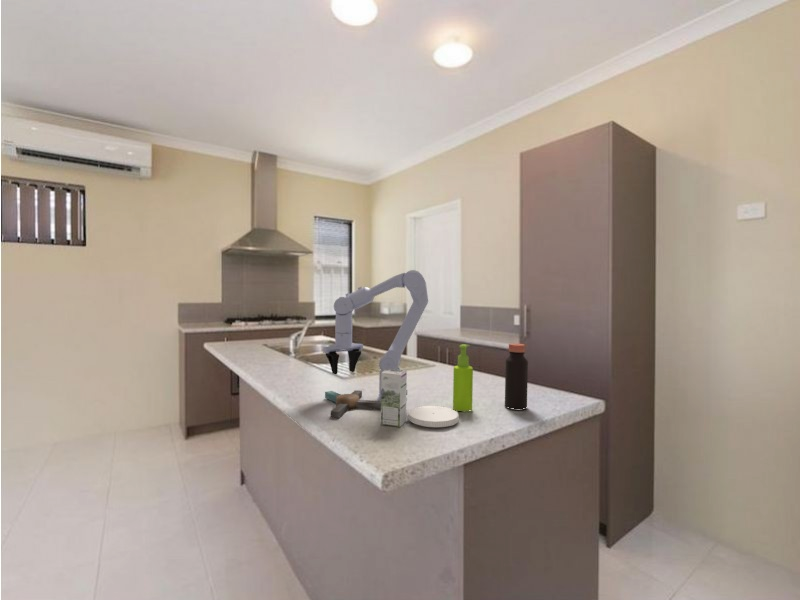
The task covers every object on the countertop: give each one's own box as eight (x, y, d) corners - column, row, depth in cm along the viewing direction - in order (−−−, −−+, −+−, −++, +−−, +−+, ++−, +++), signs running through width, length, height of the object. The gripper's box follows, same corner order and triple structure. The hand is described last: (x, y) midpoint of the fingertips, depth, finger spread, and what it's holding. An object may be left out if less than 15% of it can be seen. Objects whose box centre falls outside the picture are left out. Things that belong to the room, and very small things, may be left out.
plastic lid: (419, 411, 120) (419, 403, 120) (464, 418, 114) (464, 409, 114) (400, 425, 107) (400, 416, 107) (449, 434, 101) (449, 424, 101)
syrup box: (406, 421, 110) (407, 369, 110) (399, 427, 105) (400, 373, 104) (387, 418, 112) (388, 368, 112) (379, 425, 106) (380, 371, 106)
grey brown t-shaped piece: (392, 398, 133) (392, 389, 133) (376, 421, 110) (376, 410, 109) (348, 395, 136) (348, 387, 136) (323, 417, 112) (323, 407, 112)
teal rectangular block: (344, 401, 127) (344, 395, 127) (337, 403, 126) (337, 397, 126) (331, 396, 133) (331, 390, 133) (325, 397, 132) (325, 391, 132)
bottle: (530, 407, 125) (532, 344, 124) (520, 412, 120) (522, 346, 119) (510, 403, 129) (512, 342, 129) (500, 407, 124) (501, 344, 124)
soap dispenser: (475, 407, 124) (476, 344, 124) (469, 413, 118) (470, 346, 118) (457, 404, 127) (458, 342, 126) (450, 410, 121) (451, 345, 120)
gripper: (355, 330, 141) (354, 368, 142) (318, 332, 132) (318, 373, 132) (366, 332, 136) (366, 371, 136) (329, 334, 126) (329, 376, 127)
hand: (343, 372), depth 134 cm, fingers open, 6 cm apart
